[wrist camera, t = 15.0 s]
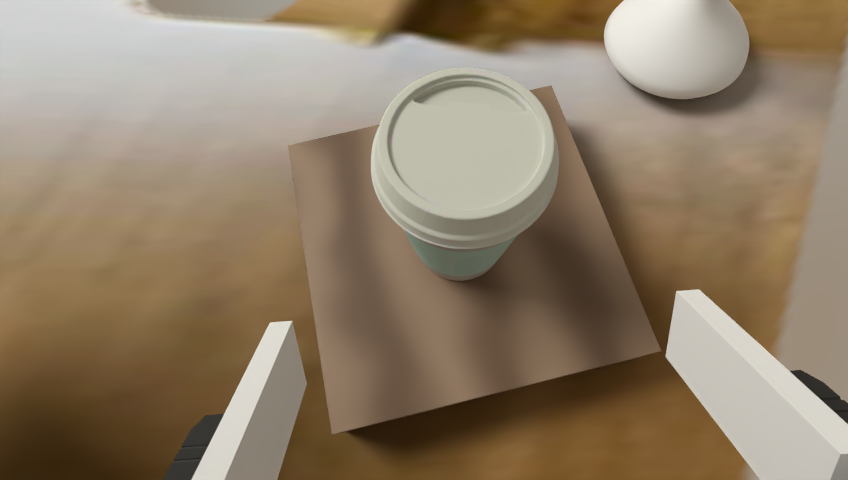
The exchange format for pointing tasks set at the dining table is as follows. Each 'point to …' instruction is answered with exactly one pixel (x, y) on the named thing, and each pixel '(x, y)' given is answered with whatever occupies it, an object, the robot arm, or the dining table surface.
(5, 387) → the dining table surface
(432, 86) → the coffee cup
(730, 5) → the flower in vase
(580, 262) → the walnut base
